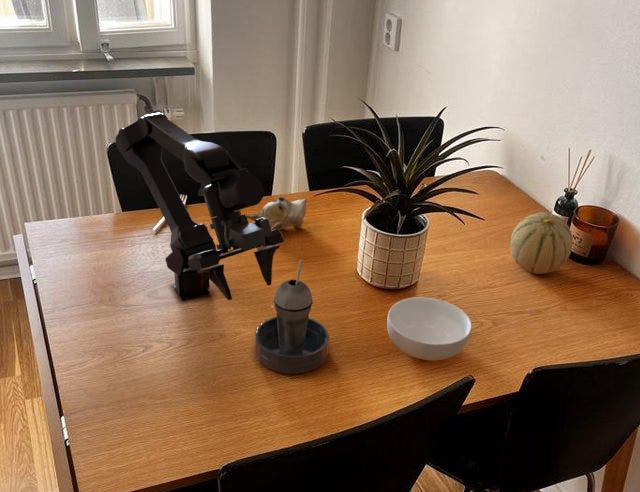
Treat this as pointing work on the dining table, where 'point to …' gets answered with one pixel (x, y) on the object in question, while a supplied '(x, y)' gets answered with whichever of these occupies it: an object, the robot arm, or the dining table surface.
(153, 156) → the robot arm
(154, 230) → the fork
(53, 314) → the dining table surface
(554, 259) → the cantaloupe
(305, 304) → the beverage cup
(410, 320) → the cereal bowl
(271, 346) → the dark gray pet bowl
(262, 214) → the ceramic sculpture
